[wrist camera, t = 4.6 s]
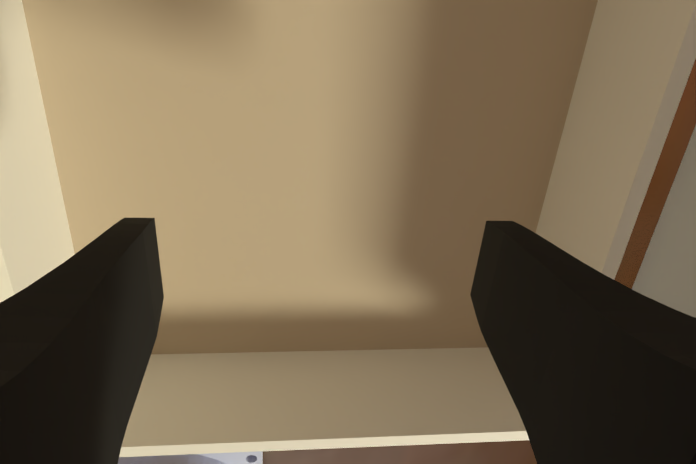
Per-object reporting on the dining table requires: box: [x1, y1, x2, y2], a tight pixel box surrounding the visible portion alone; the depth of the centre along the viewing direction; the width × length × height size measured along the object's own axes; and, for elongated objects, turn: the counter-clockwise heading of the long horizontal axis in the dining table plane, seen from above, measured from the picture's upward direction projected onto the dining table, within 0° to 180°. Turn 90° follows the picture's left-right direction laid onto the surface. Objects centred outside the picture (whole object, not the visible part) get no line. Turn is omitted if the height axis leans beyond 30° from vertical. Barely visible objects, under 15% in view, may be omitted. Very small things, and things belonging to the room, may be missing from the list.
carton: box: [0, 0, 696, 457], centre depth 17 cm, size 20×18×5 cm
